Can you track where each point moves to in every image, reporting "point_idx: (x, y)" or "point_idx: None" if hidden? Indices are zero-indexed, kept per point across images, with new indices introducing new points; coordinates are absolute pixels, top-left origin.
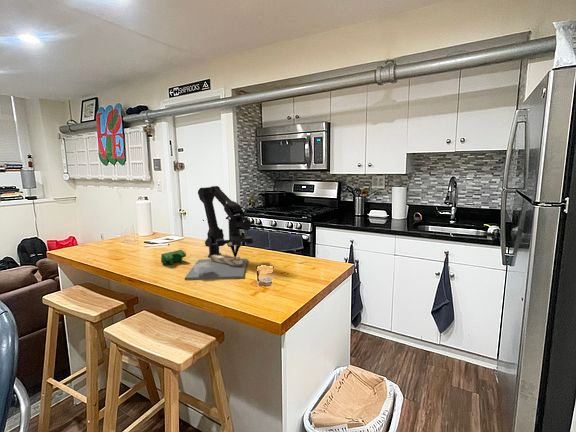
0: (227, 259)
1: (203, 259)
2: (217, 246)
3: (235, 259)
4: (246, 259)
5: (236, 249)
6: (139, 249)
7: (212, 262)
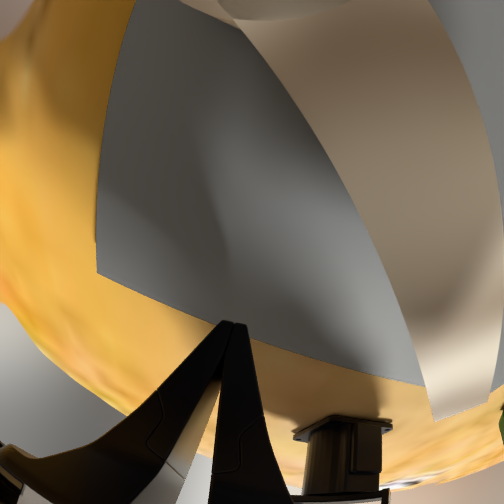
0: (495, 179)
1: None
2: (327, 488)
3: (327, 31)
4: (102, 244)
5: (168, 436)
6: (466, 463)
7: None
